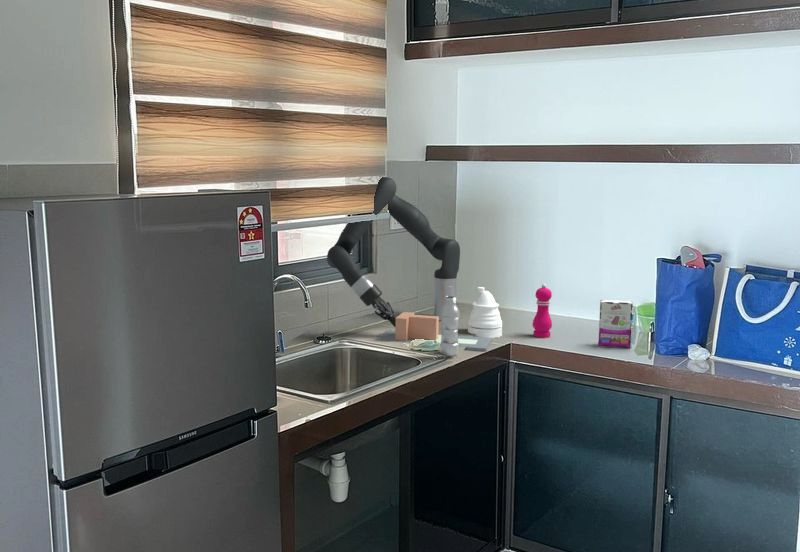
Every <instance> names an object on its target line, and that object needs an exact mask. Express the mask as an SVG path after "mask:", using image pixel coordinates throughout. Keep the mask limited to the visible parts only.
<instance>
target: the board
mask: <svg viewBox="0 0 800 552" xmlns="http://www.w3.org/2000/svg"><path fill="white" fill-rule="evenodd" d="M441 336H442V333H438V339H437V340H436V341H437V342H439V343H441ZM473 336H474V335H473ZM473 336H470V335H458V344H459V348H464V351H476V352H487V351H488V350H489V347H490V346H491V344H490V343H492V342H493V338H487V337H473ZM412 340H415V339H408V340H407V341H400V340H395V330H387V329H386V330H385V331H384V332H382V333H381V334H380V335H378V336H377V337H376V338H375V339H374V341H377V342H378V341H381V342H392V343H406V344H411V343H410V342H411V341H412ZM434 341H435V340H434ZM438 346H440V344H439V345H438Z"/></svg>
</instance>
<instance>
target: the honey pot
mask: <svg viewBox="0 0 800 552" xmlns="http://www.w3.org/2000/svg"><path fill="white" fill-rule="evenodd" d="M477 290H478V292H479V293H480V294H479V295H478V297H477V299H476V301H474V302H472V303H471V305H472V307H473V308H472V310H471V311H470V316H469V318H468V320H467V322H468V324H467V333H469V334H471V335H473V337H487V338H492V339H496V338H495V337H498V338H500V336H501V337H502V336H503V320H502V319H501V315H500V314H501V313H500V311H499V305H500V304H499V303H497V302H496V300H495V297H494V296H493V294H492V293H491V292H490V291H488V290H485V286H484V287H483V286H477Z"/></svg>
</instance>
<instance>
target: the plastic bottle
mask: <svg viewBox="0 0 800 552" xmlns="http://www.w3.org/2000/svg"><path fill="white" fill-rule="evenodd" d="M445 303H446V304H445V305H444V307H443V308H442V310H441V320H440V322H441V334H442V336H441V343H440V345H439V353H440V354H441V356H444V357H449V358H452V357H457V355H458V354H459V352H460V347H459V344H458V336H459V334H458V333H459V331H458V329H459V321H460V316H461V313H460V310H459V307H458V306H457V296H456V297H454V296H446V297H445ZM455 303H456V304H455Z"/></svg>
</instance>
